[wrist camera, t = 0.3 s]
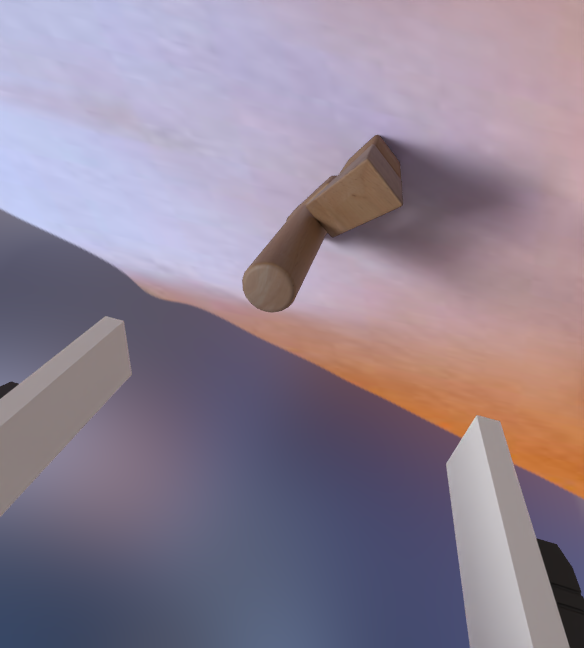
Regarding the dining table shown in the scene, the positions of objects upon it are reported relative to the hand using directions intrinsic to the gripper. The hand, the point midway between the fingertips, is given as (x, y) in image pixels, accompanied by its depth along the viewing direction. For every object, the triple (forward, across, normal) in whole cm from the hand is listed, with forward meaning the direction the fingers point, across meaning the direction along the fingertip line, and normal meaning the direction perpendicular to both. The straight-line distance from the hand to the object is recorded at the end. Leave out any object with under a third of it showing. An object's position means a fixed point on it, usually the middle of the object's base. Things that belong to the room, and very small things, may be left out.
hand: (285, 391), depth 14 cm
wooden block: (+28, -1, +1) cm, 28 cm away
